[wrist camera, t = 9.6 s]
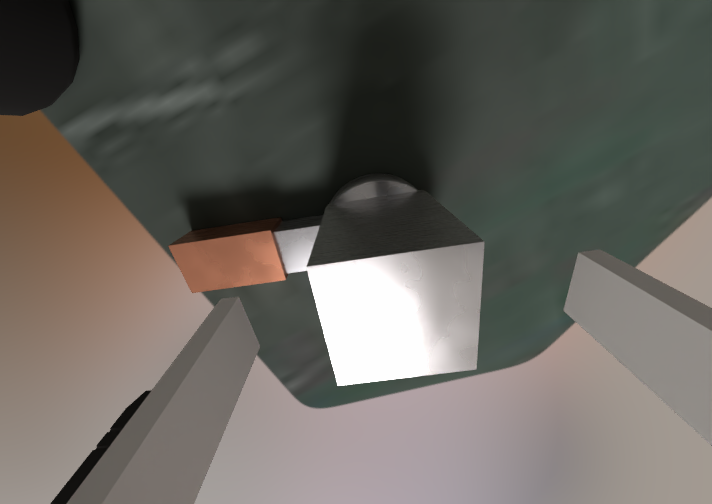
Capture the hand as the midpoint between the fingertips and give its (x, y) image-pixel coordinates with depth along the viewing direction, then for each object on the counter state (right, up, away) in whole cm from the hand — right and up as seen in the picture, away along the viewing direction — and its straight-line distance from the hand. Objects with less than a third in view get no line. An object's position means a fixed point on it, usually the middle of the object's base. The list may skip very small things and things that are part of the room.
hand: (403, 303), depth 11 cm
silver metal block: (0, +3, +7) cm, 7 cm away
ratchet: (-5, +3, +10) cm, 11 cm away
